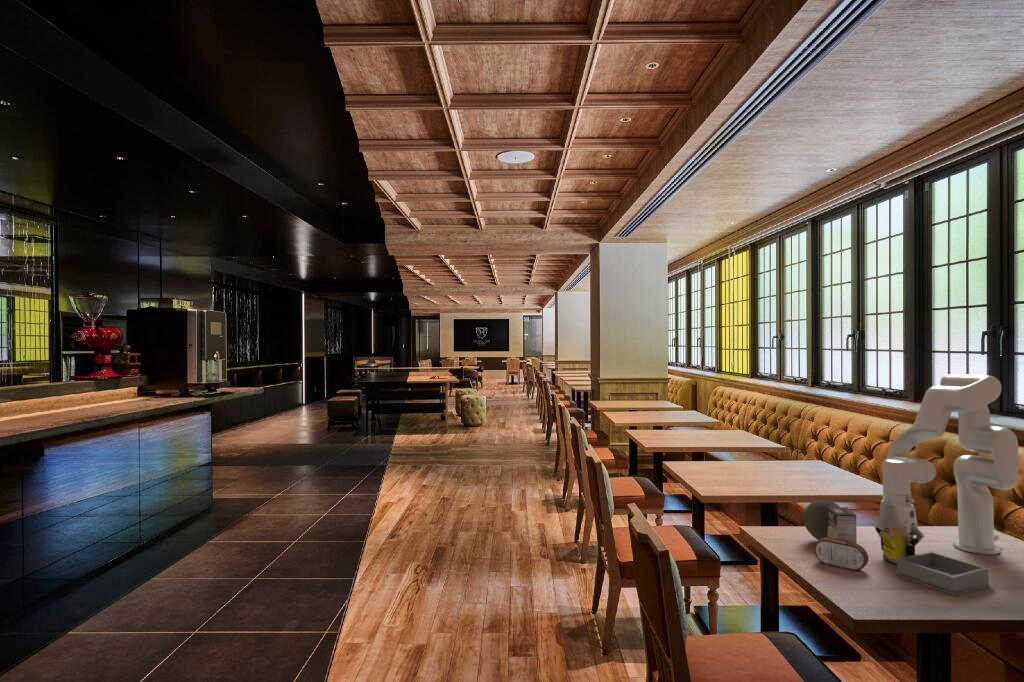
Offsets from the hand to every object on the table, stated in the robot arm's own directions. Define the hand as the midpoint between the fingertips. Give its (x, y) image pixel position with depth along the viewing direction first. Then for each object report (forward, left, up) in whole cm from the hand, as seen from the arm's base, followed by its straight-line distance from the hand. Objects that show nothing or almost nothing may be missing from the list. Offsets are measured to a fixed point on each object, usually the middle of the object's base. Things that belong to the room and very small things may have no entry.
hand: (897, 553), depth 189 cm
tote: (+3, +15, -3) cm, 16 cm away
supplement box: (0, 0, -3) cm, 3 cm away
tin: (+20, -5, -3) cm, 21 cm away
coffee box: (+14, -9, -3) cm, 17 cm away
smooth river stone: (+5, -22, -3) cm, 23 cm away
